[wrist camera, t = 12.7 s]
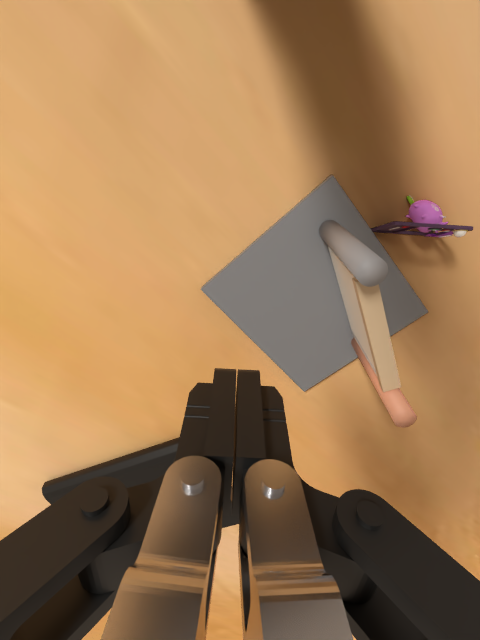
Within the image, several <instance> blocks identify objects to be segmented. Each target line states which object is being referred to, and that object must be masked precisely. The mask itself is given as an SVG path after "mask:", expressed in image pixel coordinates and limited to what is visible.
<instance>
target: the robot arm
mask: <svg viewBox="0 0 480 640" xmlns="http://www.w3.org/2000/svg"><path fill="white" fill-rule="evenodd" d="M235 393H236V404H235ZM232 471H233V489H232V516H239V541H238V557H239V574H240V591H241V609H242V626H243V640H353V637H352V634H353V636H354V637H355V638H356V639H357V640H480V581H479V580H478V579H477V578H475V577H474V576H473V575H472V574H471V573H470V572H468V571H467V570H466V569H465V568H464V567H463V566H461V565H460V564H459V563H458V562H457V561H455V560H454V559H453V558H452V557H451V556H450V555H448V554H447V553H446V552H445V551H444V550H443V549H441V548H440V547H439V546H438V545H437V544H436V543H434V542H433V541H432V540H431V539H430V538H428V537H427V536H426V535H425V534H424V533H423V532H421V531H420V530H419V529H418V528H417V527H416V526H414V525H413V524H412V523H411V522H410V521H408V520H407V519H406V518H405V517H404V516H403V515H401V514H400V513H399V512H398V511H397V510H396V509H394V508H393V507H392V506H391V505H390V504H388V503H387V502H386V501H385V500H384V499H382V498H381V497H379V496H378V495H376V494H374V493H372V492H369V491H366V490H360V489H355V490H350V491H347V492H345V493H344V494H343V495H342V496H341V497H340V498H338V497H336V496H333V495H330V494H327V493H324V492H322V491H319V490H317V489H315V488H313V487H311V486H309V485H308V484H307V483H305V482H304V481H303V480H302V479H301V478H300V476H299V475H298V474H297V472H296V470H295V468H294V466H293V462H292V456H291V449H290V443H289V436H288V430H287V424H286V417H285V412H284V404H283V398H282V396H281V395H280V393H279V392H278V391H277V389H276V388H275V387H272V386H261V384H260V372H259V371H258V370H239V369H238V375H237V390H236V369H219V368H215V371H214V379H213V383H197V385H196V386H195V387H194V388H193V389H192V390H191V392H190V393H189V397H188V402H187V407H186V411H185V417H184V420H183V425H182V430H181V434H180V439H179V443H178V448H177V453H176V457H175V460H174V462H173V464H172V465H171V466H170V467H169V468H168V470H167V471H166V473H164V474H163V475H162V476H160V477H159V478H157V479H155V480H153V481H151V482H148V483H144V484H140V485H136V486H132V487H129V488H126V487H125V485H124V484H123V483H122V482H121V481H120V480H118V479H116V478H113V477H106V476H104V477H96V478H93V479H90V480H88V481H85V482H83V483H82V484H80V485H79V486H77V487H76V488H74V489H73V490H72V491H70V492H69V493H67V494H66V495H64V496H63V497H62V498H60V499H59V500H57V501H56V502H55V503H53V504H52V505H50V506H49V507H48V508H46V509H45V510H43V511H42V512H40V513H39V514H38V515H36V516H35V517H33V518H32V519H31V520H29V521H28V522H26V523H25V524H23V525H22V526H21V527H19V528H18V529H16V530H15V531H14V532H12V533H11V534H9V535H8V536H7V537H5V538H4V539H2V540H1V541H0V640H81V639H82V638H83V637H84V636H85V635H86V634H87V633H88V632H89V631H90V630H91V629H92V628H93V627H94V626H95V625H96V624H97V623H98V621H99V620H100V619H101V618H102V617H103V616H104V615H105V614H106V613H107V612H108V611H109V610H110V609H111V608H112V609H111V612H110V615H109V617H108V620H107V623H106V626H105V629H104V632H103V635H102V638H101V640H206V634H207V626H208V619H209V611H210V604H211V596H212V589H213V581H214V574H215V566H216V559H217V551H218V545H219V543H220V539H221V530H222V516H229V512H230V499H231V485H232Z"/></svg>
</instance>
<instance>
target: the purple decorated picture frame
mask: <svg viewBox="0 0 480 640" xmlns="http://www.w3.org/2000/svg"><path fill="white" fill-rule="evenodd" d="M412 199H413V197H412V198H411V196H407V200H408V201H409V204H410V205H411V206H410V208H409V214H408V215H406V217H408V218H411V219H412V221H413V222H399V221H393V222H390V223H387V224H384V225H381V226H378V227H375V228H371V230H372V232H379V233H393V234H409V235H424V236H429V237H430V236H431V237H439V238H442V237H447V236H452V234H454V236H456V237H462V236H464V235H465V234H466V232H467V231H472V230H473V227H472V226H457V225H446V224H448V222H445V223H442V219H443V218H445V216H443V215H442V211H441V209H440V208H439V206H438V205H436V204H435V203H433V202H431V201H428V200H419V201H416V202H414V200H412ZM415 228H416V229H418V230H419V231H421V232H414V231H406V230H410V229H415ZM442 228H444V229H442ZM454 229H455V230H454ZM434 231H435V232H436V233H433V232H434ZM438 231H444V232H439V233H438Z"/></svg>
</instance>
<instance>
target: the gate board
mask: <svg viewBox="0 0 480 640" xmlns="http://www.w3.org/2000/svg"><path fill="white" fill-rule="evenodd" d="M328 246H329V247H330V248H331V249H332V251H333V252H334V253H335V254H336V255H337V256H338V258H339V259H340V260H341V261H342V262H343V264H344V265H345V266H346V267H347V268H348V269H349V271H350V272H351V273H352V274H353V275H354V276H355V278H356V279H357V280H358V281H359V282H360V283H361V284H362V285H364V286H368V287H372V286H376V285H378V284H379V288H380V293H381V297H382V302H383V306H384V311H385V315H386V320H387V324H388V329H389V333H390V336H392V335H393V334H395V333H396V332H398V331H400V330H401V329H403V328H404V327H406V326H407V325H409V324H410V323H412V322H414V321H415V320H417V319H418V318H420V317H421V316H423V315H425V314H426V313H428V310H427V309H426V308H425V306H424V305H423V303H422V302H421V300H420V299H419V298H418V296H417V295H416V293H415V292H414V290H413V289H412V288H411V286H410V285H409V283H408V282H407V280H406V279H405V278H404V276H403V275H402V273H401V272H400V270H399V269H398V268H397V266H396V265H395V263H394V262H393V260H392V259H391V258H390V256H389V255H388V253H387V252H386V250H385V249H384V248H383V246H382V245H381V243H380V242H379V240H378V239H377V238H376V236H375V235H374V233H373V232H372V230H371V229H370V228H369V226H368V225H367V223H366V222H365V220H364V219H363V218H362V216H361V215H360V213H359V212H358V210H357V209H356V208H355V206H354V205H353V203H352V202H351V200H350V199H349V198H348V196H347V195H346V193H345V192H344V190H343V189H342V188H341V186H340V185H339V183H338V182H337V180H336V179H335V178H334V176H333V175H330V176H329V177H328V178H327V179H326V180H324V181H323V182H322V183H321V184H320V185H319V186H318V187H316V188H315V189H314V190H313V191H312V192H311V193H309V194H308V195H307V196H306V197H305V198H304V199H303V200H301V201H300V202H299V203H298V204H297V205H296V206H294V207H293V208H292V209H291V210H290V211H289V212H288V213H286V214H285V215H284V216H283V217H282V218H281V219H279V220H278V221H277V222H276V223H275V224H274V225H273V226H271V227H270V228H269V229H268V230H267V231H266V232H264V233H263V234H262V235H261V236H260V237H259V238H258V239H256V240H255V241H254V242H253V243H252V244H251V245H249V246H248V247H247V248H246V249H245V250H244V251H243V252H241V253H240V254H239V255H238V256H237V257H236V258H234V259H233V260H232V261H231V262H230V263H229V264H228V265H226V266H225V267H224V268H223V269H222V270H221V271H220V272H218V273H217V274H216V275H215V276H214V277H213V278H211V279H210V280H209V281H208V282H207V283H206V284H205V285H203V286H202V288H201V290H202V291H203V292H204V293H205V294H206V295H207V296H208V297H209V298H210V299H211V300H212V301H213V302H214V303H215V304H216V305H217V306H218V307H219V308H220V309H221V310H222V311H223V312H224V313H225V314H226V315H227V316H228V317H229V318H230V319H231V320H232V321H233V322H234V323H235V324H236V325H237V326H238V327H239V328H240V329H241V330H242V331H243V332H244V333H245V334H246V335H247V336H248V337H249V338H250V339H251V340H252V341H253V342H254V343H255V344H256V345H257V346H258V347H259V348H261V349H262V350H263V351H264V352H265V353H266V354H267V355H268V356H269V357H270V358H271V359H272V360H273V361H274V362H275V363H276V364H277V365H278V366H279V367H280V368H281V369H282V370H283V371H284V372H285V373H286V374H287V375H288V376H289V377H290V378H291V379H292V380H293V381H294V382H295V383H296V384H297V385H298V386H299V387H300V388H301V389H302V390H303V391H304V392H305V391H306V390H308V389H309V388H311V387H312V386H314V385H315V384H317V383H319V382H320V381H322V380H323V379H325V378H326V377H328V376H329V375H331V374H333V373H334V372H336V371H337V370H339V369H340V368H342V367H343V366H345V365H347V364H348V363H350V362H351V361H353V360H354V359H356V358H358V357H359V359H360V361H361V363H362V365H363V367H364V368H365V370H366V372H367V374H368V376H369V378H370V379H371V381H372V383H373V385H374V387H375V389H376V390H377V392H378V394H379V396H380V398H381V400H382V401H383V403H384V405H385V407H386V409H387V411H388V412H389V414H390V416H391V418H392V420H393V422H394V423H395V425H396V426H398V427H408V426H410V425H412V424H413V423H414V422H415V421H416V419H417V415H416V414H415V412H414V410H413V409H412V407H411V406H410V404H409V403H408V401H407V400H406V398H405V397H404V395H403V393H402V392H401V390H400V389H399V388H397V389H393V390H390V391H386V392H383V391H382V389H381V387H380V385H379V381H378V377H377V376H376V374H375V372H374V371H373V369H372V367H371V365H370V364H369V362H368V360H367V359H366V357H365V355H364V353H363V352H362V350H361V348H360V346H359V345H358V343H357V341H356V340H355V338H354V336H353V334H352V331H351V327H350V323H349V319H348V316H347V312H346V309H345V305H344V302H343V298H342V295H341V291H340V287H339V284H338V280H337V277H336V273H335V270H334V266H333V263H332V259H331V255H330V252H329V248H328Z"/></svg>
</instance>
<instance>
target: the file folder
mask: <svg viewBox="0 0 480 640" xmlns="http://www.w3.org/2000/svg"><path fill="white" fill-rule="evenodd" d="M179 439H180V437H179V438H176V439H173V440H170V441H167V442H164V443H161V444H158V445H155V446H152V447H149V448H146V449H143V450H140V451H137V452H134V453H131V454H128V455H125V456H122V457H119V458H116V459H113V460H110V461H107V462H104V463H101V464H98V465H95V466H92V467H89V468H86V469H83V470H80V471H77V472H74V473H71V474H68V475H65V476H62V477H59V478H56V479H53V480H50V481H47V482H45V483H44V485H43V487H42V493H43V496H44V497H45V499H46V500H47V501H48V502H49V503H50V504H51V505H52V504H53V503H55V502H56V501H57V500H59V499H60V498H62V497H63V496H64V495H66V494H67V493H69V492H70V491H72V490H73V489H74V488H76V487H77V486H79V485H80V484H82V483H83V482H85V481H88V480H90V479H93V478H96V477H104V476H106V477H113V478H116V479H118V480H120V481H121V482H122V483H123V484H124V485H125V487H126V488H129V487H132V486H136V485H140V484H144V483H148V482H151V481H153V480H155V479H157V478H159V477H160V476H162V475H163V474H164V473H166V471H167V470H168V468H169V467H170V466H171V465H172V464H173V462H174V460H175V457H176V453H177V448H178V443H179ZM232 489H233V488H232V486H231V499H230V512H229V516H222V528H224V527H228V526H232V525H236V524H239V516H232Z"/></svg>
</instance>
